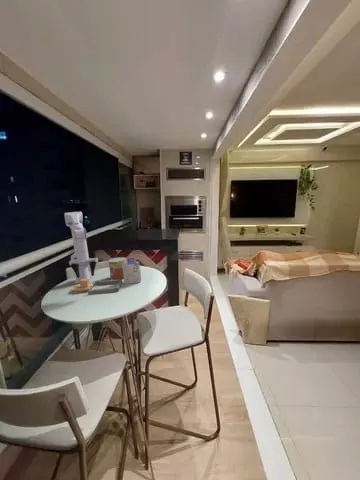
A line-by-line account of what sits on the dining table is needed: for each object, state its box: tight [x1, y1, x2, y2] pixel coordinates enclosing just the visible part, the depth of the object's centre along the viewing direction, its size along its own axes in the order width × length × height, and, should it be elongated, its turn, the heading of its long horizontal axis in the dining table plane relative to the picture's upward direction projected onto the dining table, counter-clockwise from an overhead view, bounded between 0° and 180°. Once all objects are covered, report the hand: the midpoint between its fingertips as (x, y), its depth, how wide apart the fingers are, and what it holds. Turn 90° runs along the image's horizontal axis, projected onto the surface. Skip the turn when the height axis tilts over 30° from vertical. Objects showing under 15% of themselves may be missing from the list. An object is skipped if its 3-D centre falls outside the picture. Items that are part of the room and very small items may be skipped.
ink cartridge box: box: [122, 257, 142, 285], centre depth 156 cm, size 10×6×14 cm, turn 93°
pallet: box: [70, 282, 94, 294], centre depth 148 cm, size 8×10×2 cm
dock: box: [87, 279, 123, 296], centre depth 149 cm, size 18×16×2 cm
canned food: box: [108, 256, 128, 281], centre depth 166 cm, size 11×11×12 cm
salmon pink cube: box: [79, 278, 91, 288], centre depth 148 cm, size 4×4×4 cm
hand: (85, 276), depth 138 cm, fingers open, 7 cm apart
